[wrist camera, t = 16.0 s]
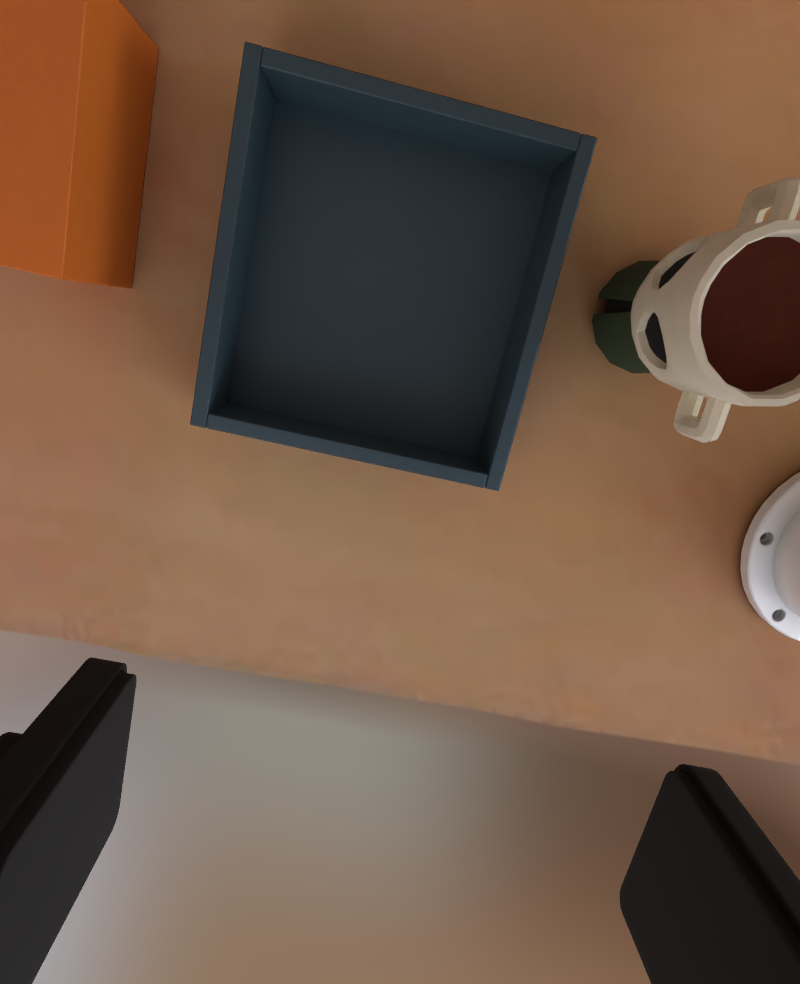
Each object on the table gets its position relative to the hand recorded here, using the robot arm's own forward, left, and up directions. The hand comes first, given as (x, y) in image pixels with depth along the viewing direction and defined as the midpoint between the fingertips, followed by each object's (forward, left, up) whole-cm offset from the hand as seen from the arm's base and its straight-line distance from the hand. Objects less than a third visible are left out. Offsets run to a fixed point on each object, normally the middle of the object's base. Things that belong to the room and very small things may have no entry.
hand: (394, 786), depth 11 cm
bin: (+2, -9, -28) cm, 30 cm away
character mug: (-13, -11, -28) cm, 33 cm away
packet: (+18, -12, -28) cm, 36 cm away
